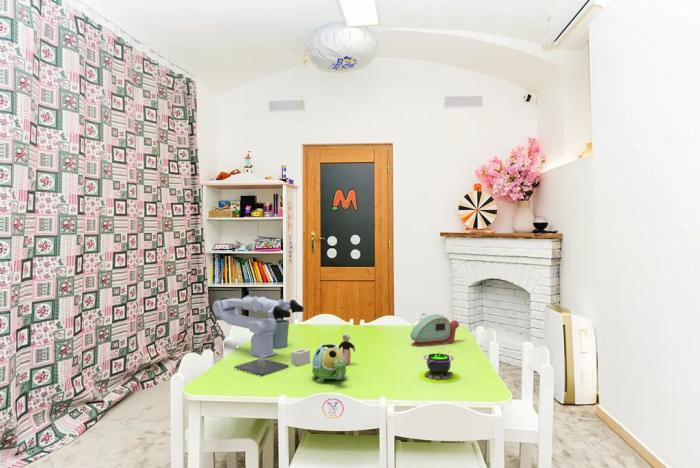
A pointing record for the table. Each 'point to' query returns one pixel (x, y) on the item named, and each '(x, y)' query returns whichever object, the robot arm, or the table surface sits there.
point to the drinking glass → (280, 334)
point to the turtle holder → (329, 363)
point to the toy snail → (434, 331)
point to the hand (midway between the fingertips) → (296, 311)
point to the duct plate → (261, 366)
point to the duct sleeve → (300, 357)
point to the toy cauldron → (439, 369)
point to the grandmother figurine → (346, 348)
